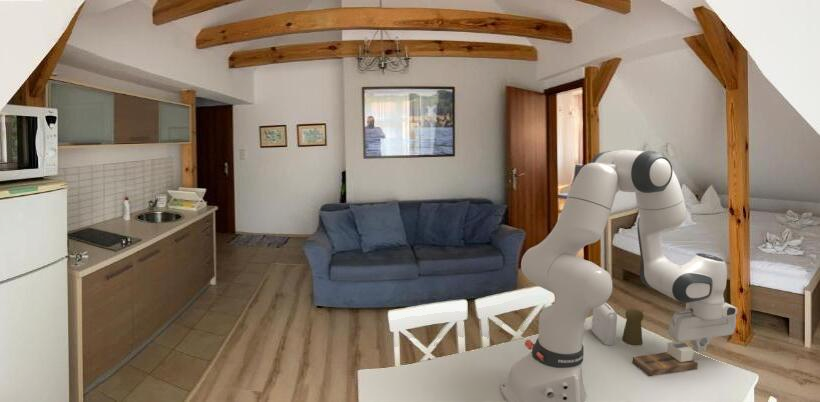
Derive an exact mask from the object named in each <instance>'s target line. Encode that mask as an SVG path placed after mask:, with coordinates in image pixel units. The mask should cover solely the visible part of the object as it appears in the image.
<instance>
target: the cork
mask: <svg viewBox="0 0 820 402" xmlns="http://www.w3.org/2000/svg"><path fill="white" fill-rule="evenodd" d="M625 318H626V321H625V322H626V323H625V325H624V330H623V334H622V338H621V339H622V342H623V343H625V344H626V345H630V346H634V347H641V346H642V345H643V331H642V329H643V328H642V321H643V320H644V313H643V312H642V310H640V309H637V308H628V309H626V311H625Z"/></svg>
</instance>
